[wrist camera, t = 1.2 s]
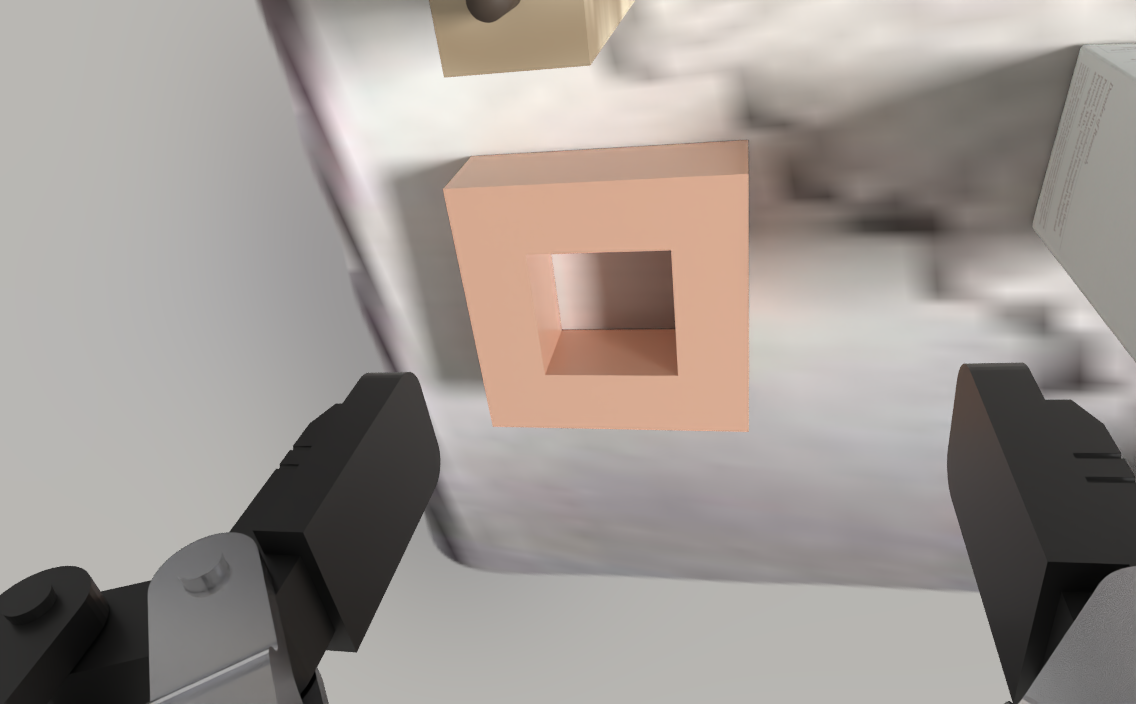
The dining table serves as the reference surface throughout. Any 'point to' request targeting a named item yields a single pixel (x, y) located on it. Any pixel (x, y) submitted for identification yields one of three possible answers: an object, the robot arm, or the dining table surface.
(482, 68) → the birch peg
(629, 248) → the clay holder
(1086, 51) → the supplement box
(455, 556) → the dining table surface
